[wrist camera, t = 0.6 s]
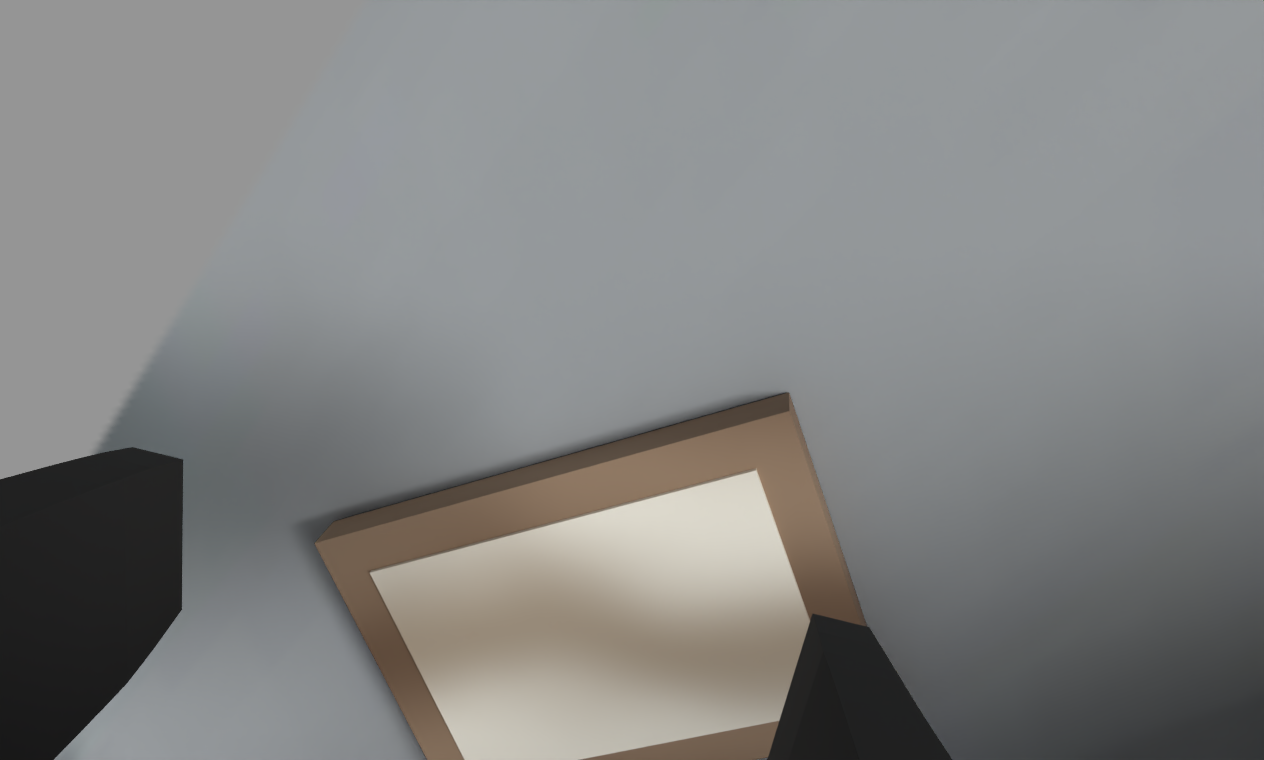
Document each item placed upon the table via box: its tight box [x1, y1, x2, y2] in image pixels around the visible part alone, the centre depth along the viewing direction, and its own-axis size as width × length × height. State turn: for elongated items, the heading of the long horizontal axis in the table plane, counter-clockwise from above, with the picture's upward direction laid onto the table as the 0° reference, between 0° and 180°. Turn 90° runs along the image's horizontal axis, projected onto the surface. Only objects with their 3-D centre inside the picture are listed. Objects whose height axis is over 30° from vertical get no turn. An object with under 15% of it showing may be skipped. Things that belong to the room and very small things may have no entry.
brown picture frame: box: [314, 392, 867, 760], centre depth 21 cm, size 8×11×1 cm
